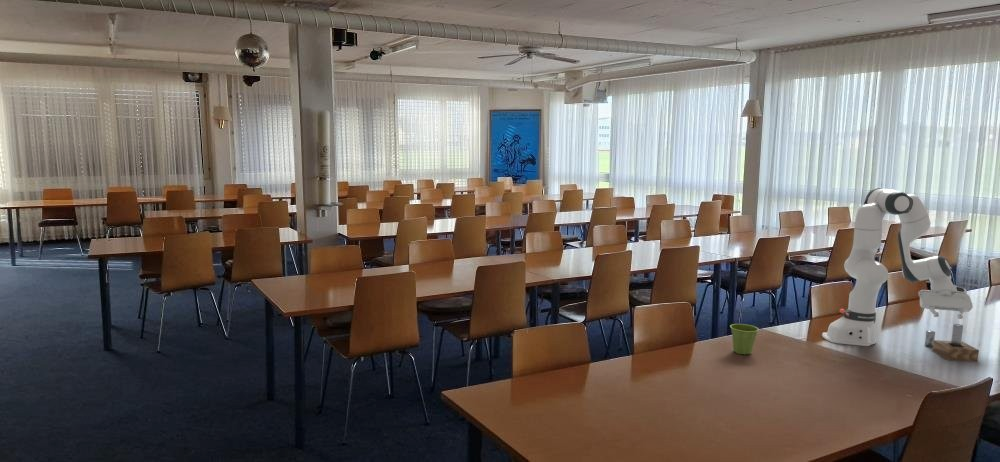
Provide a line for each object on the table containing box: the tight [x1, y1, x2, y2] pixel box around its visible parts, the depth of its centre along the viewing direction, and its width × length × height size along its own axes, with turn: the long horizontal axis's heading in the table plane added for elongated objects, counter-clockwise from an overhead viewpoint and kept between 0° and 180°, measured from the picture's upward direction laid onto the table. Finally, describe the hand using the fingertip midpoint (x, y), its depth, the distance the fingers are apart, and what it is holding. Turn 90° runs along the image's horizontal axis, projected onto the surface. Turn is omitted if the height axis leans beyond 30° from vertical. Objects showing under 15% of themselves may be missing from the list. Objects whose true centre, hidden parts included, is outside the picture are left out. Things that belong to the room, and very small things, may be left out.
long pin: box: [950, 323, 964, 347], centre depth 285 cm, size 4×4×14 cm
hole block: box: [932, 339, 980, 362], centre depth 286 cm, size 12×12×5 cm
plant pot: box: [729, 323, 760, 355], centre depth 286 cm, size 12×12×11 cm
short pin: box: [924, 329, 936, 348], centre depth 299 cm, size 4×4×7 cm
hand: (948, 317), depth 295 cm, fingers open, 8 cm apart
